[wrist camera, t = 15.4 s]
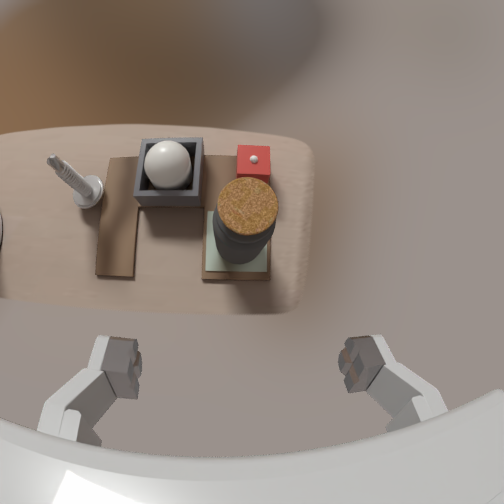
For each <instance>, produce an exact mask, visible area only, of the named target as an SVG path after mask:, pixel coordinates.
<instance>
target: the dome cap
mask: <svg viewBox="0 0 504 504" xmlns="http://www.w3.org/2000/svg"><path fill="white" fill-rule="evenodd" d="M144 168H145V172H146V174H147V176H148V177H149V179H150V181H151V182H152V184H153V186H154V187H155V189H156V190H185V189H186V188H187V187H188V186H189V184H190V183H191V180H192V177H193V170H192V166H191V161H190V157H189V154H188V151H187V150H186V149H185V148H184V147H183V146H182V145H181V144H179V143H177V142H174V141H162V142H159V143H157V144H155V145H154V146H153V147H152V148H151V149H150V150H149V151H148V153H147V155H146V157H145V163H144Z"/></svg>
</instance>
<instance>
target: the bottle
mask: <svg viewBox="0 0 504 504" xmlns="http://www.w3.org/2000/svg"><path fill="white" fill-rule="evenodd" d="M277 213H278V201H277V197H276V195H275V193H274V191H273V190H272V189H271V187H270V186H269V185H268V184H266V183H265V182H263V181H261V180H259V179H256V178H252V177H242V178H238V179H235V180H233V181H231V182H230V183H228V184H227V185H226V186H225V187H224V188H223V189H222V191H221V193H220V195H219V198H218V202H217V205H216V208H215V210H214V213H213V220H212V223H213V231H214V237H215V243H216V247H217V250H218V252H219V254H220V255H221V256H222V257H223V258H224V259H225V260H226V261H228V262H230V263H233V264H245V263H248V262H250V261H252V260H253V259H255V258H256V257H257V256H258V254H259V253H260V252H261V251H262V249H263V248H264V247H265V245H266V244H267V243H268V241H269V240H270V238H271V236H272V234H273V232H274V229H275V223H276V222H275V221H276V216H277Z"/></svg>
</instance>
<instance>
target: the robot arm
mask: <svg viewBox="0 0 504 504" xmlns="http://www.w3.org/2000/svg"><path fill="white" fill-rule="evenodd" d="M1 237H2V220H1V214H0V243H1ZM338 363H339V369H340V371H341V373H343V374H344V375H345V379H344V383H345V385H346V388H347V391H348V393H353V392H360V391H366V392H367V393H368V394H369V395H370V396H371V397H372V398H373V399H374V400H375V401H376V402H377V403H378V404H379V405H380V406H381V407H382V408H383V409H384V410H386V411H387V412H388V413H389V414H390V415H391V416H392V417H393V419H392V420H391V421H390V422H389V423H388V424H387V426H386V430H387V433H384V434H381V435H377V436H374V437H370V438H366V439H361V440H357V441H353V442H348V443H344V444H339V445H334V446H328V447H323V448H317V449H311V450H304V451H297V452H289V453H281V454H271V455H257V456H241V457H186V456H169V455H157V454H146V453H137V452H130V451H123V450H116V449H111V448H105V447H101V443H102V440H101V439H100V438H99V436H98V435H97V434H96V433H95V432H94V430H93V429H92V428H93V427H94V425H95V424H96V423H97V422H98V421H99V419H100V418H101V417H102V416H103V415H104V413H105V412H106V411H107V410H108V409H109V407H110V406H111V405H112V404H113V403H114V402H115V400H116V399H117V398H126V399H138V392H139V382H138V378H139V377H140V376H141V372H142V358H141V353H140V352H139V351H138V342H137V339H130V338H121V337H112V336H103V335H99V336H98V337H97V338H96V342H95V344H94V347H93V351H92V354H91V357H90V360H89V364H88V367H87V369H86V368H83V369H82V370H81V371H80V372H79V373H78V374H76V375H75V376H74V377H73V378H72V379H71V380H69V381H68V382H67V383H66V384H65V385H64V386H63V387H61V388H60V389H59V390H58V391H57V392H56V393H55V394H53V395H52V396H51V397H50V398H49V399H48V400H47V401H45V403H44V406H43V410H42V413H41V417H40V420H39V424H38V427H37V431H36V430H33V429H30V428H27V427H24V426H21V425H18V424H16V423H13V422H10V421H8V420H5V419H3V418H0V504H504V391H503V390H501V389H496V390H493V391H491V392H489V393H487V394H485V395H483V396H481V397H479V398H477V399H475V400H473V401H471V402H469V403H466V404H464V405H462V406H460V407H458V408H455V409H453V410H450V411H448V410H447V407H446V405H445V403H444V401H443V399H442V397H441V395H440V393H439V391H438V390H437V389H436V388H435V387H434V386H432V385H431V384H429V383H428V382H426V381H425V380H424V379H422V378H421V377H419V376H418V375H417V374H415V373H414V372H412V371H411V370H409V369H408V368H407V367H405V366H404V365H402V364H401V363H397V362H396V361H395V359H394V357H393V355H392V353H391V351H390V349H389V347H388V345H387V343H386V342H385V340H384V338H383V336H382V335H370V336H359V337H350V338H348V339H347V340H346V342H345V348H344V349H343V350H341V352H340V354H339V359H338Z"/></svg>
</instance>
